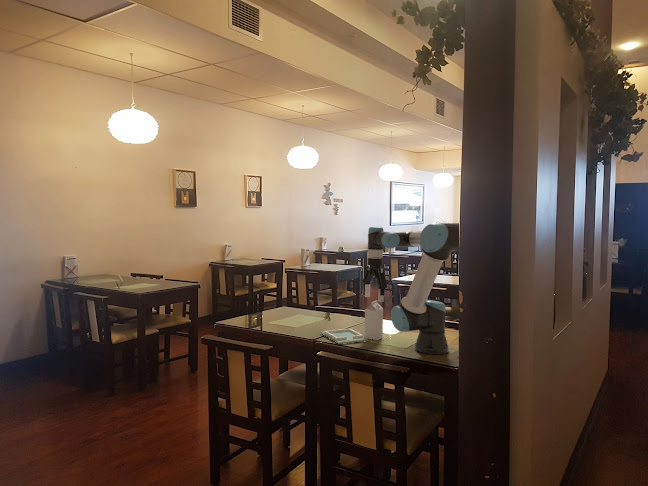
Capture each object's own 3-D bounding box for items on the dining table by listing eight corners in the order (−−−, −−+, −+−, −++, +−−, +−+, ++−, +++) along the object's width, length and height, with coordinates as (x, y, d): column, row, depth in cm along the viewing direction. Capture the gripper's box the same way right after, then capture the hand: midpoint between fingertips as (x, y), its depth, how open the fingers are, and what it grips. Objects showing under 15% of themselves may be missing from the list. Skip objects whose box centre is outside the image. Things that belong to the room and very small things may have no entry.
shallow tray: (367, 341, 230) (368, 336, 230) (338, 344, 223) (338, 340, 223) (347, 331, 250) (348, 326, 250) (320, 333, 244) (320, 329, 243)
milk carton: (364, 338, 235) (365, 301, 234) (369, 335, 242) (370, 299, 240) (377, 340, 232) (378, 303, 231) (382, 337, 238) (383, 300, 237)
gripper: (394, 260, 224) (393, 303, 226) (369, 255, 247) (368, 294, 249) (381, 260, 221) (380, 304, 223) (357, 255, 244) (356, 295, 246)
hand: (374, 299), depth 236 cm, fingers open, 13 cm apart
